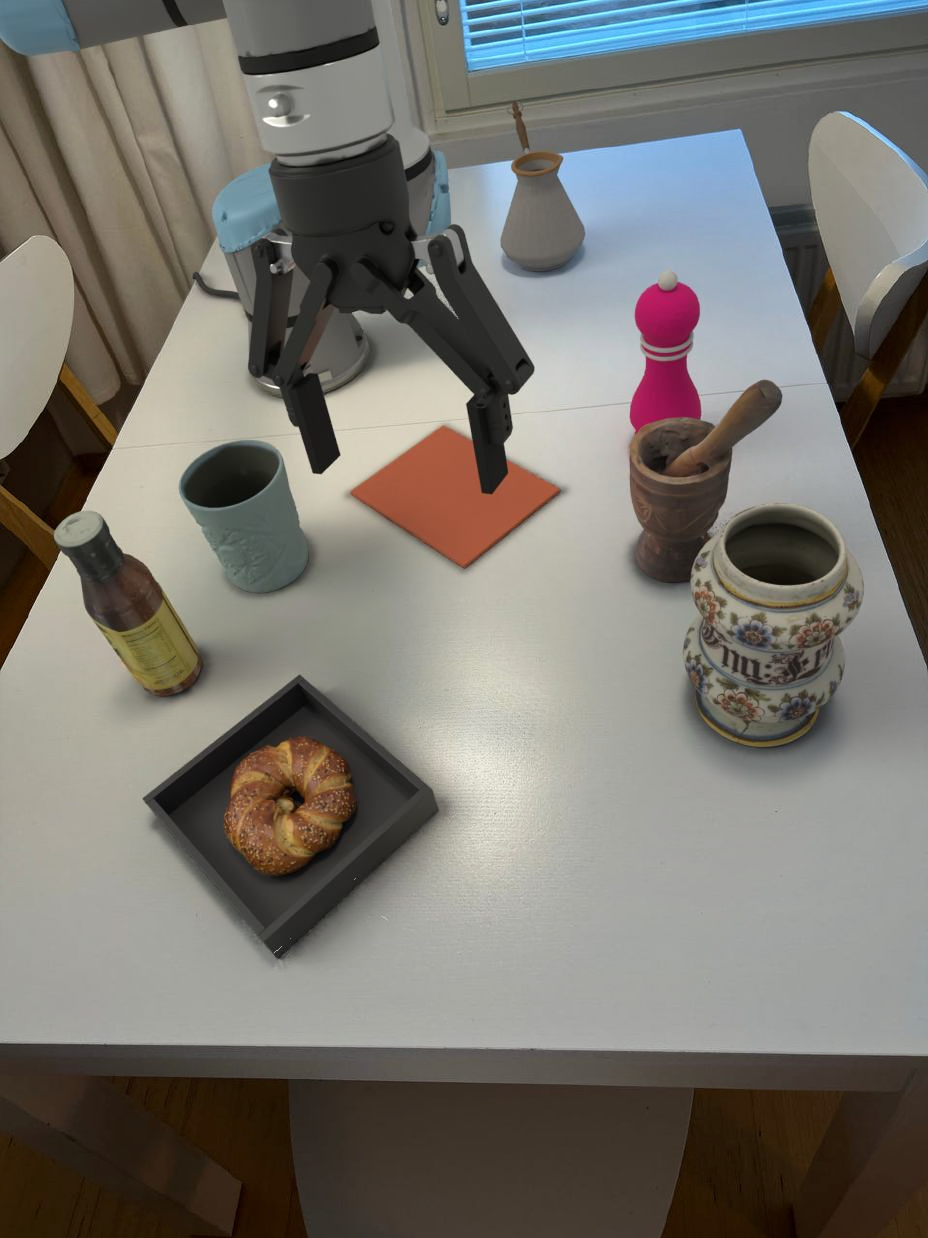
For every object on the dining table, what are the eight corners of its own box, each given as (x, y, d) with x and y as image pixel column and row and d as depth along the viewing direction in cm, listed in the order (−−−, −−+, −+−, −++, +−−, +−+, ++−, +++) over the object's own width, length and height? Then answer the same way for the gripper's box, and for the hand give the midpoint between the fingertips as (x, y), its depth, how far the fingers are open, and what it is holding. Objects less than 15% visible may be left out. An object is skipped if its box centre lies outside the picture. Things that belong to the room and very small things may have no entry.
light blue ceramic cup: (238, 612, 93) (194, 525, 84) (208, 553, 99) (165, 465, 90) (331, 569, 95) (298, 479, 86) (296, 513, 101) (262, 424, 92)
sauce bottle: (145, 653, 91) (48, 501, 76) (208, 643, 91) (122, 488, 76) (135, 708, 87) (30, 558, 72) (201, 697, 86) (109, 545, 71)
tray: (157, 818, 78) (141, 798, 76) (309, 696, 85) (299, 673, 82) (277, 959, 69) (263, 941, 66) (439, 810, 75) (432, 789, 73)
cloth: (350, 494, 102) (349, 491, 102) (443, 427, 107) (443, 425, 107) (464, 568, 92) (463, 565, 92) (560, 491, 97) (560, 488, 97)
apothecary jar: (863, 731, 74) (912, 575, 61) (722, 779, 73) (740, 632, 60) (785, 623, 82) (813, 464, 69) (657, 666, 81) (660, 513, 68)
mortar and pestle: (741, 513, 92) (760, 334, 77) (767, 577, 86) (792, 397, 71) (623, 532, 92) (619, 358, 77) (640, 596, 87) (639, 422, 72)
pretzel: (338, 888, 72) (326, 866, 69) (207, 874, 74) (190, 852, 71) (374, 754, 79) (364, 729, 76) (255, 745, 81) (241, 721, 79)
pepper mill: (698, 468, 97) (707, 292, 82) (627, 467, 98) (623, 294, 83) (700, 424, 101) (710, 249, 86) (633, 423, 103) (630, 252, 88)
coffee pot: (594, 268, 125) (589, 153, 114) (510, 285, 125) (496, 173, 114) (562, 198, 139) (555, 89, 128) (486, 214, 139) (472, 107, 128)
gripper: (122, 175, 55) (235, 483, 68) (507, 153, 44) (553, 524, 58) (200, 138, 60) (292, 432, 73) (564, 110, 49) (594, 461, 63)
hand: (407, 473), depth 66 cm, fingers open, 13 cm apart
